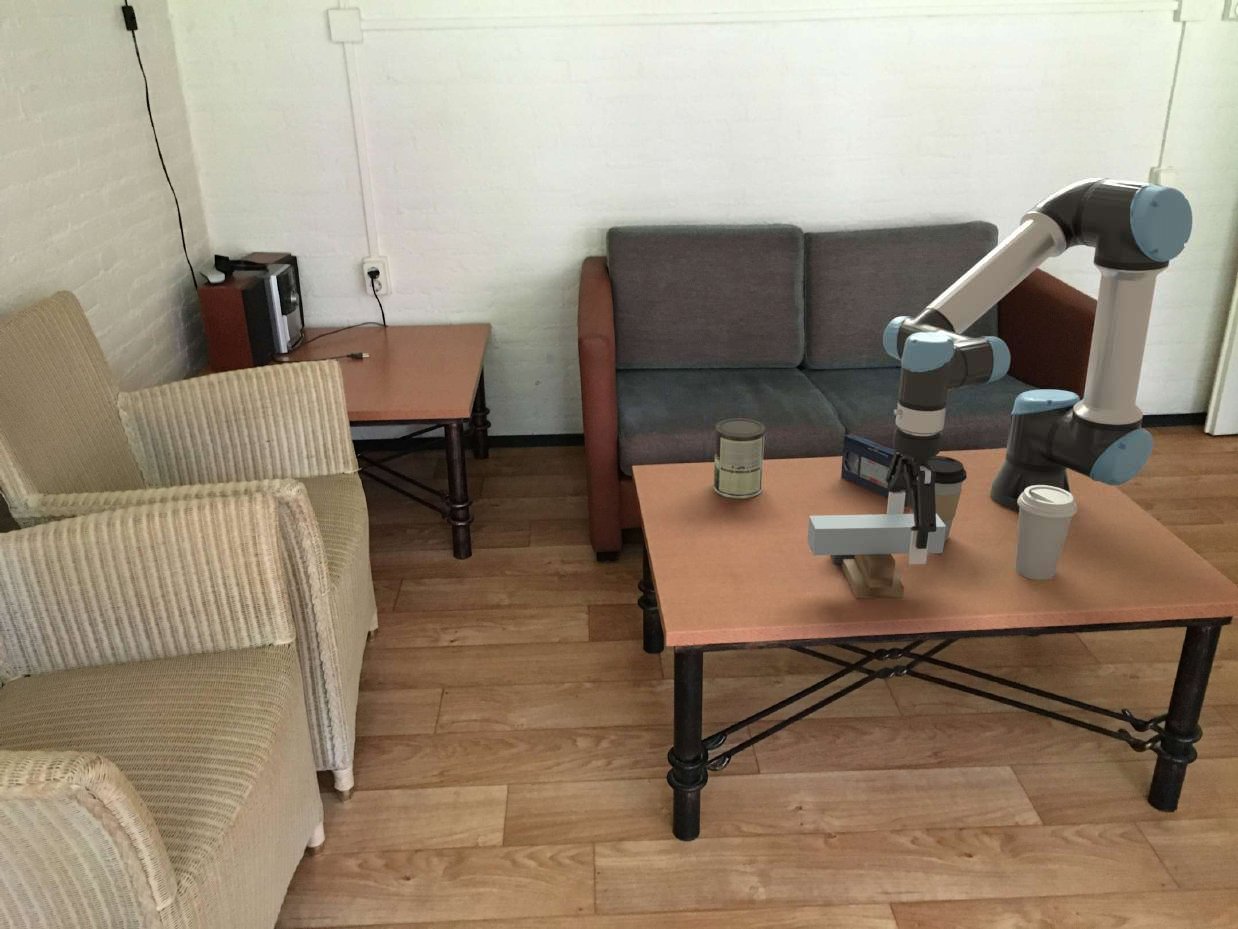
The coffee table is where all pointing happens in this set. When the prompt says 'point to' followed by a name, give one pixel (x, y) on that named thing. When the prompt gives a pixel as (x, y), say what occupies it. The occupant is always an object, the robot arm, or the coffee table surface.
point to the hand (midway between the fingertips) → (904, 544)
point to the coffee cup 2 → (1042, 529)
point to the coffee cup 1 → (947, 487)
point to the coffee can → (738, 458)
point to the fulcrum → (873, 576)
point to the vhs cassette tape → (868, 465)
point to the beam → (868, 534)
